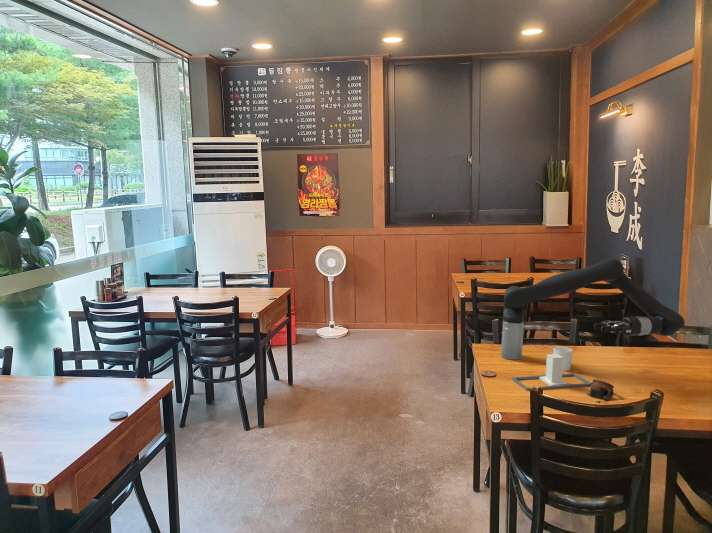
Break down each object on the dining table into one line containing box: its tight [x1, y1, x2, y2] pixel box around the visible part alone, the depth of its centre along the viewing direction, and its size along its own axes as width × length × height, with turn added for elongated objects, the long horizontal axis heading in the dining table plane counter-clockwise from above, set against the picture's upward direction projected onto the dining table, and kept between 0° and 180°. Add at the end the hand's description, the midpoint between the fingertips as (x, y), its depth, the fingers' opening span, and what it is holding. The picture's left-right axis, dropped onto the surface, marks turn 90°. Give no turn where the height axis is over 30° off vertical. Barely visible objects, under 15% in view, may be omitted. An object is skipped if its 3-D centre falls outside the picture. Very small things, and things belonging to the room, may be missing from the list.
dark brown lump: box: [586, 379, 615, 404], centre depth 198 cm, size 12×10×8 cm
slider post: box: [539, 353, 569, 386], centre depth 211 cm, size 9×7×11 cm
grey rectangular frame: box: [511, 372, 591, 392], centre depth 212 cm, size 12×28×2 cm, turn 101°
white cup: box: [552, 346, 574, 372], centre depth 229 cm, size 8×8×10 cm
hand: (598, 328), depth 212 cm, fingers open, 3 cm apart
